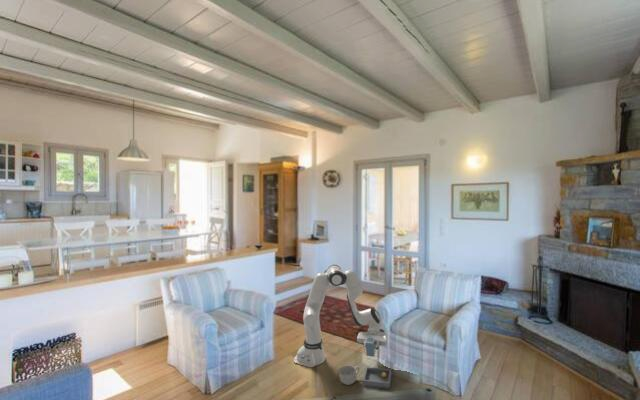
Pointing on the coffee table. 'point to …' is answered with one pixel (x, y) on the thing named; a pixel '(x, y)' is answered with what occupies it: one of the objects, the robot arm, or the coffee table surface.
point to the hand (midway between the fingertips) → (370, 347)
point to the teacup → (348, 374)
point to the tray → (377, 378)
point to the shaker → (370, 347)
